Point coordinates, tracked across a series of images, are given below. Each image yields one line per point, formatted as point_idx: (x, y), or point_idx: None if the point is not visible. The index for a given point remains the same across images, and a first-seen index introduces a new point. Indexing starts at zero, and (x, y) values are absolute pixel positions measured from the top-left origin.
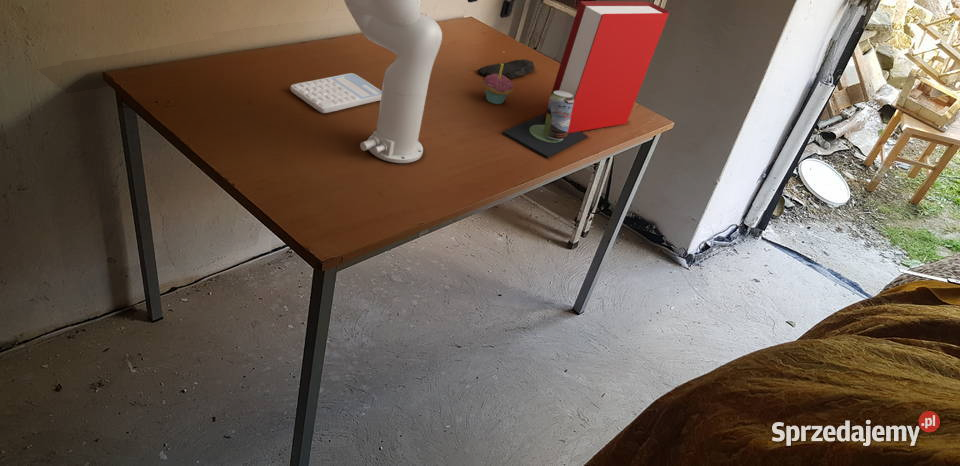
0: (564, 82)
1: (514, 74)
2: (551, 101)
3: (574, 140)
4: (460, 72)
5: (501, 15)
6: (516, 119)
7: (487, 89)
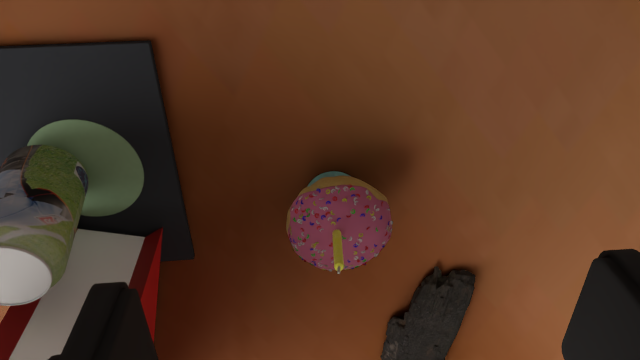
0: None
1: (394, 338)
2: (24, 219)
3: None
4: (505, 230)
5: (100, 295)
6: (209, 163)
7: (343, 176)
